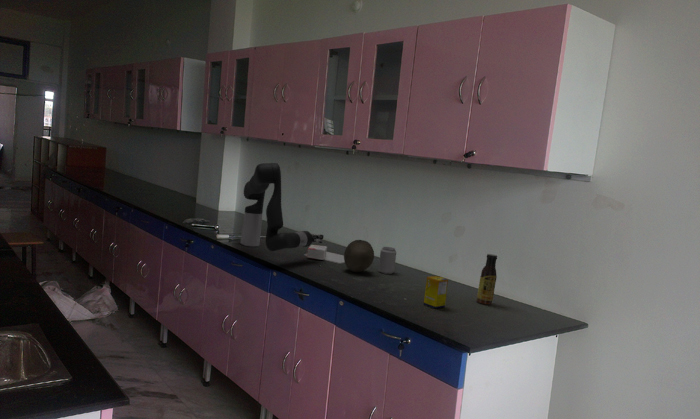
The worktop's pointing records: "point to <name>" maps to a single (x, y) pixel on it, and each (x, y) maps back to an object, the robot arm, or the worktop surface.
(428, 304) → the supplement box
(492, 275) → the sauce bottle
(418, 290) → the worktop surface
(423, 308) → the worktop surface
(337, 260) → the mat
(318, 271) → the worktop surface
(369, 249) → the cantaloupe
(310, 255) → the ink cartridge box
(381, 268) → the can
